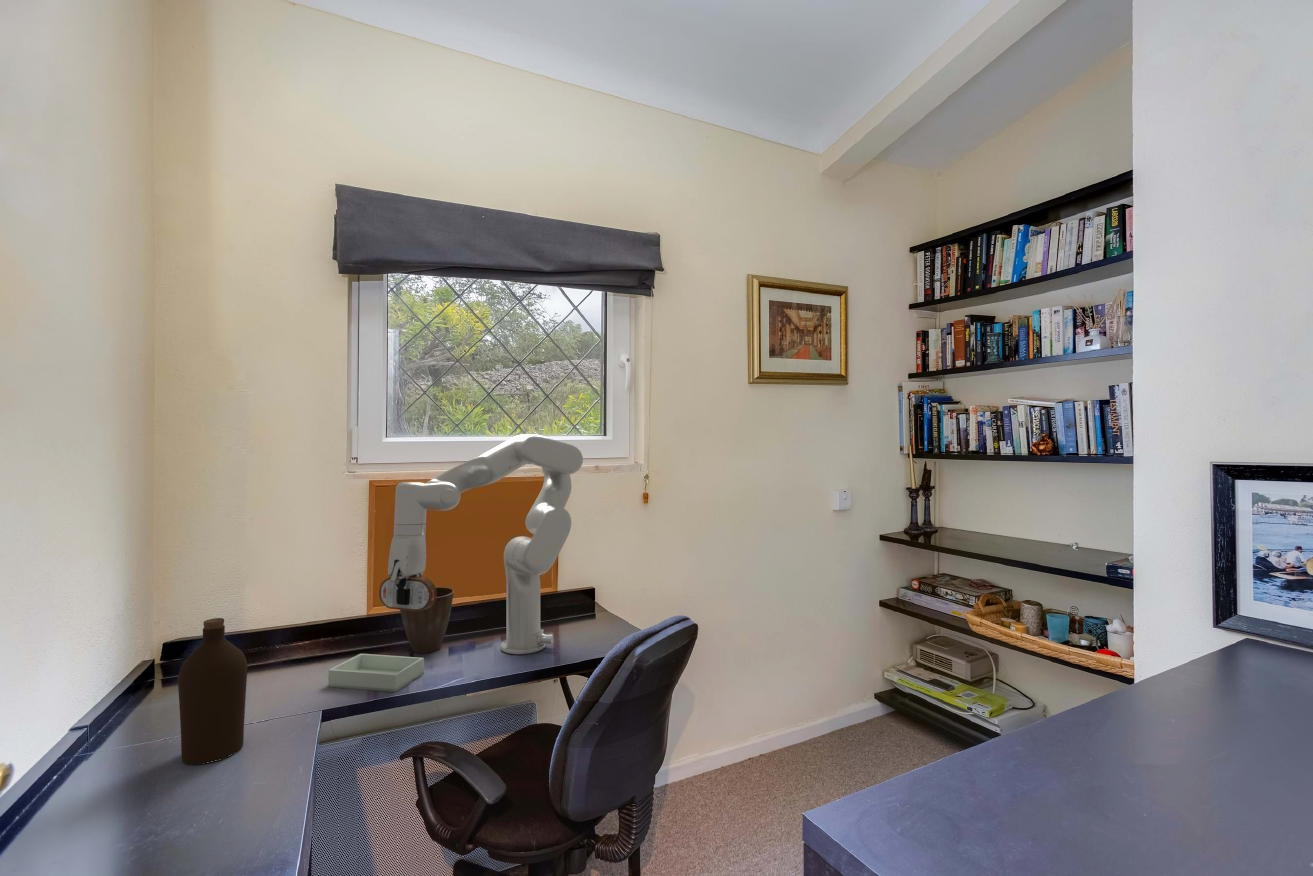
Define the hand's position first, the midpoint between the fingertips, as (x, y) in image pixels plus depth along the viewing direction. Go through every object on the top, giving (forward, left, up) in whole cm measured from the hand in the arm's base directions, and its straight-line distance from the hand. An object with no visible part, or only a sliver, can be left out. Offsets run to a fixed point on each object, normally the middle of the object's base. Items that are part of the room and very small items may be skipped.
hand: (407, 602), depth 153 cm
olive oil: (+13, +42, -18) cm, 48 cm away
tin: (0, 0, -2) cm, 2 cm away
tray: (+5, +5, -18) cm, 19 cm away
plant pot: (+6, -18, -18) cm, 26 cm away
